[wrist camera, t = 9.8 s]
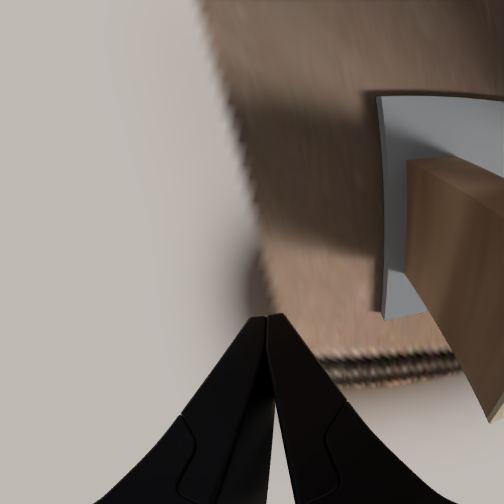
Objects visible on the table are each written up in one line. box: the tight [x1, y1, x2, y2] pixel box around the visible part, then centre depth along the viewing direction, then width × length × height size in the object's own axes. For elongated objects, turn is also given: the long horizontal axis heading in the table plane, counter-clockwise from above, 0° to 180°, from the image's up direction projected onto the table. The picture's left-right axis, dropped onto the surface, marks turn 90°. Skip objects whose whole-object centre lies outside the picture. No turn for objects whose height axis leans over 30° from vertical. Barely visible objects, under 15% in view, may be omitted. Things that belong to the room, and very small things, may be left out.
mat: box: [376, 96, 504, 321], centre depth 11 cm, size 10×10×1 cm
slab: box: [404, 157, 504, 423], centre depth 8 cm, size 2×5×8 cm, turn 10°
